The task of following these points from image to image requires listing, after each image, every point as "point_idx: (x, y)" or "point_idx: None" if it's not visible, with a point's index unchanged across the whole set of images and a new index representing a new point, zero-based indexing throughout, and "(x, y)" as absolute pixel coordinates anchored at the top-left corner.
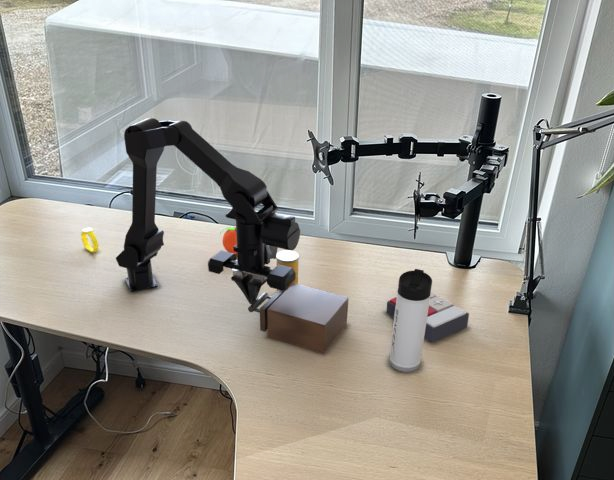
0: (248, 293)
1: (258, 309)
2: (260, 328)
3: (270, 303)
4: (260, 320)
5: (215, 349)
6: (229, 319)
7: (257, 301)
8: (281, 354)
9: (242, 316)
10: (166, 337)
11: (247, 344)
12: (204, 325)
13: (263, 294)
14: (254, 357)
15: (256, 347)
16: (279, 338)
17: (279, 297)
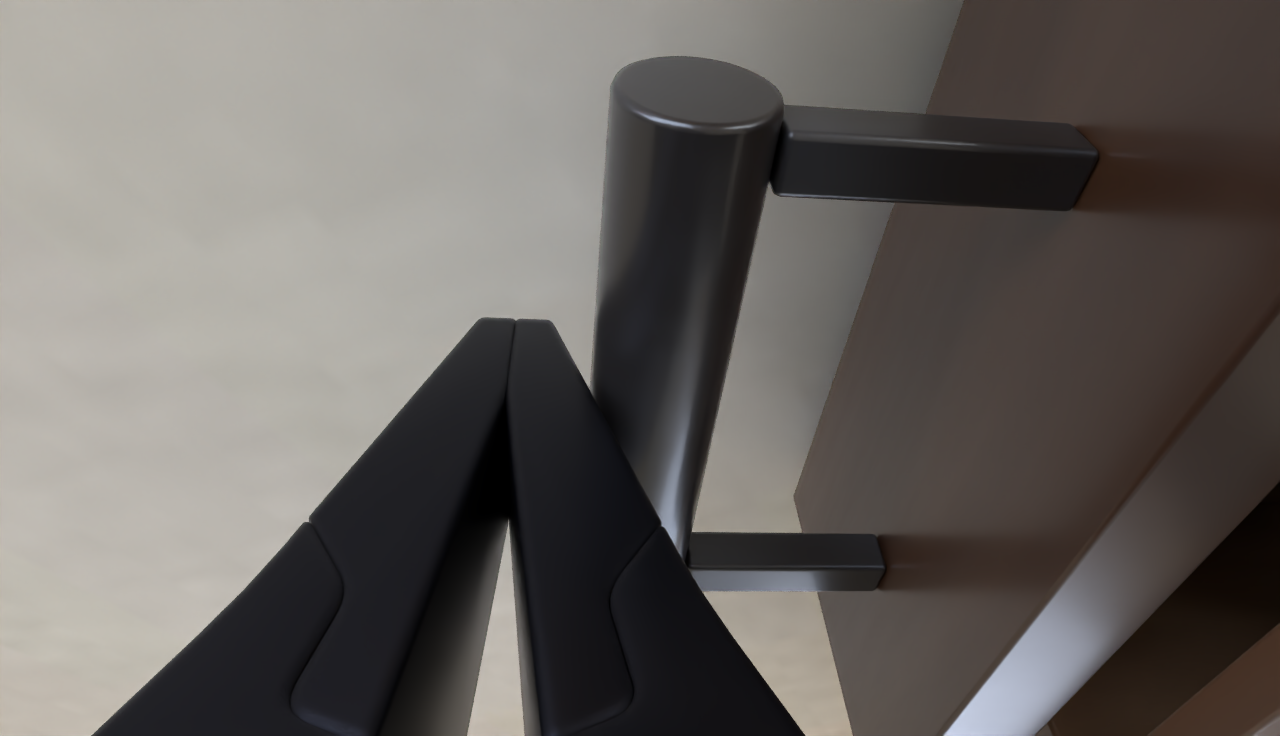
0: (474, 667)
1: (759, 583)
2: (802, 518)
3: (1032, 727)
4: (830, 620)
5: (510, 690)
6: (298, 381)
7: (668, 493)
8: None
9: (399, 270)
10: (61, 714)
11: (722, 595)
12: (158, 541)
13: (683, 250)
14: (834, 664)
15: (813, 597)
16: None
17: (1274, 724)
